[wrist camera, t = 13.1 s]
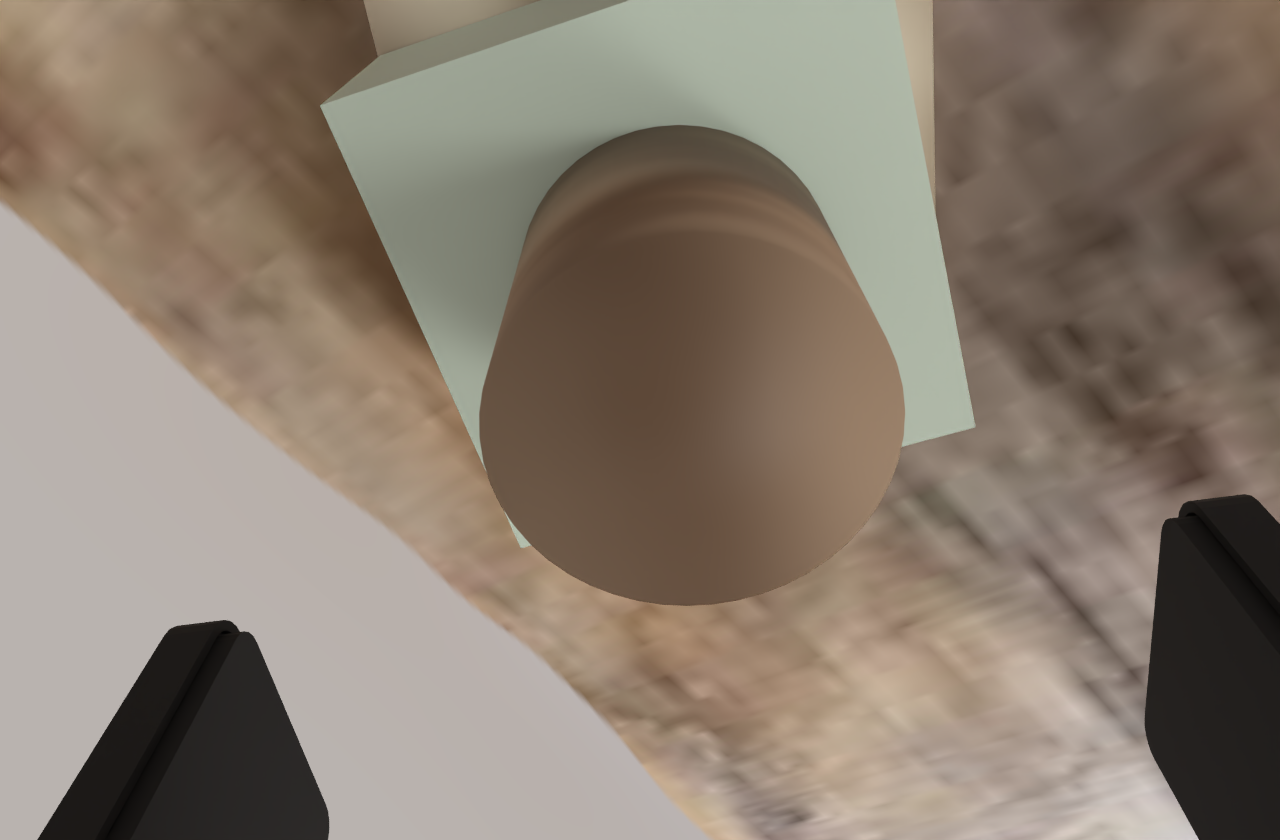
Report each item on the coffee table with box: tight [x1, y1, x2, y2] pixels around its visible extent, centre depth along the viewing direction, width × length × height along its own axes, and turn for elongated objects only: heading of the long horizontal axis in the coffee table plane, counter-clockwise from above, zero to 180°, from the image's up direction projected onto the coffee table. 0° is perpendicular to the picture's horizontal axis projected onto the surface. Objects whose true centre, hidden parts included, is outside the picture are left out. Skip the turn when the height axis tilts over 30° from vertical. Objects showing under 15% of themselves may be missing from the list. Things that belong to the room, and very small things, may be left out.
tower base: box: [363, 0, 936, 214], centre depth 27 cm, size 12×12×5 cm
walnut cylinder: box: [479, 125, 905, 606], centre depth 18 cm, size 6×6×6 cm
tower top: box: [320, 0, 975, 548], centre depth 22 cm, size 10×10×5 cm
